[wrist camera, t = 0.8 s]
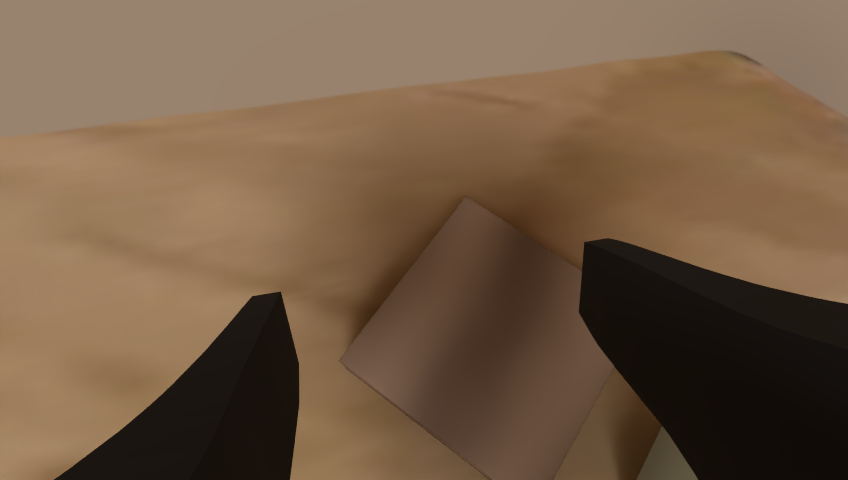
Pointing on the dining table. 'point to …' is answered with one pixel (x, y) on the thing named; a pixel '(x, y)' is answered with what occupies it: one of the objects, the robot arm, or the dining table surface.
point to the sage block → (665, 461)
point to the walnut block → (486, 348)
